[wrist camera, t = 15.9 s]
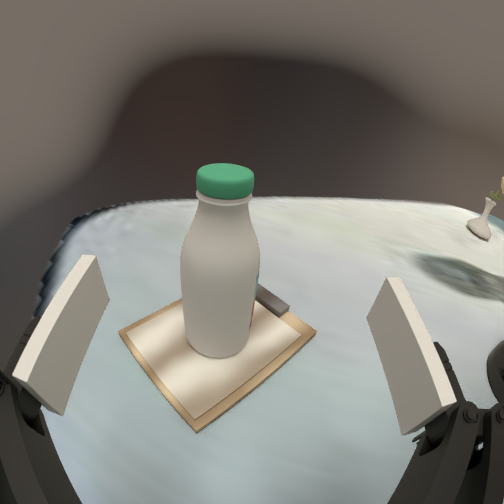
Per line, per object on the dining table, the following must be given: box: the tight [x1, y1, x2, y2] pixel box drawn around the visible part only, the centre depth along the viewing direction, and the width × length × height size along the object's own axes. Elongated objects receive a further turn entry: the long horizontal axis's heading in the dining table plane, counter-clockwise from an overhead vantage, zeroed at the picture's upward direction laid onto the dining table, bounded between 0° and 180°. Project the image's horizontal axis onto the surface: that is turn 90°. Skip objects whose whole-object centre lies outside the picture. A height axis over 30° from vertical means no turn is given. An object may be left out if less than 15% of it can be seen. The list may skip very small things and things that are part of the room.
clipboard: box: [118, 284, 317, 433], centre depth 33 cm, size 16×20×2 cm
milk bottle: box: [180, 163, 260, 358], centre depth 27 cm, size 8×8×20 cm
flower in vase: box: [467, 177, 504, 239], centre depth 67 cm, size 13×11×25 cm
